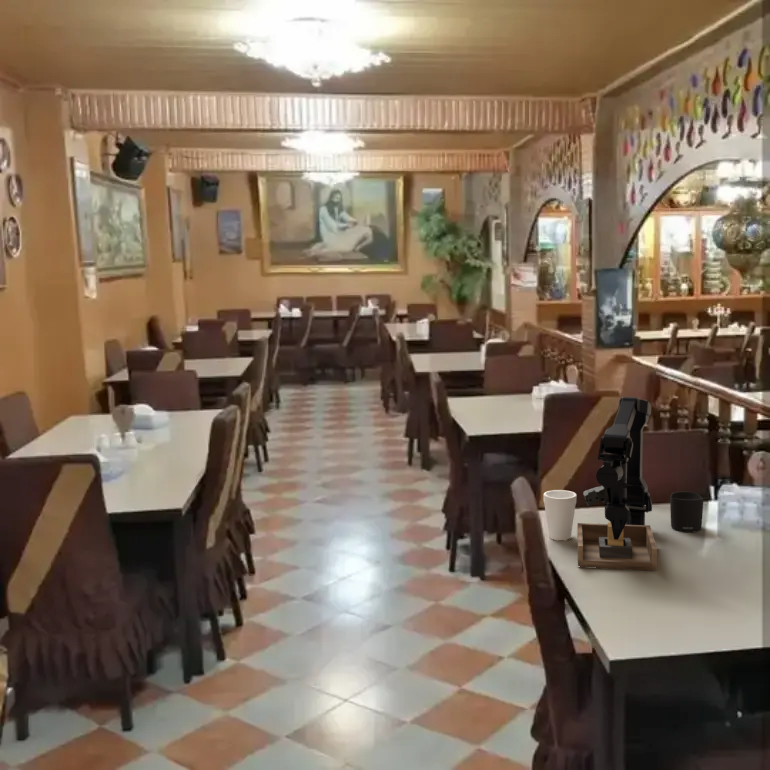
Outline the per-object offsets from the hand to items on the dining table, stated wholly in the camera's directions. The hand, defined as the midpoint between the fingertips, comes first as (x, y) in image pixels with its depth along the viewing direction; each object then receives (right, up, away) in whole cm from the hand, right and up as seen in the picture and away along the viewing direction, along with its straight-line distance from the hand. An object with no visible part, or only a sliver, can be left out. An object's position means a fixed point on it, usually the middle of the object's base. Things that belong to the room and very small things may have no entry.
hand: (615, 534), depth 242 cm
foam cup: (-11, -4, +19) cm, 22 cm away
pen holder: (+27, -2, +24) cm, 36 cm away
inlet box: (0, -6, +1) cm, 6 cm away
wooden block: (0, -5, +1) cm, 5 cm away
